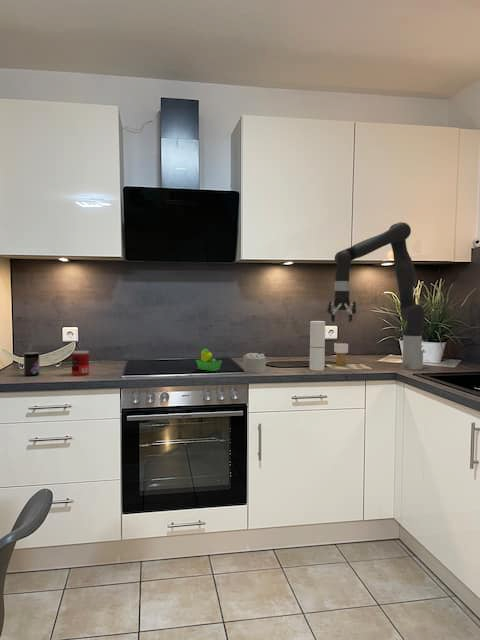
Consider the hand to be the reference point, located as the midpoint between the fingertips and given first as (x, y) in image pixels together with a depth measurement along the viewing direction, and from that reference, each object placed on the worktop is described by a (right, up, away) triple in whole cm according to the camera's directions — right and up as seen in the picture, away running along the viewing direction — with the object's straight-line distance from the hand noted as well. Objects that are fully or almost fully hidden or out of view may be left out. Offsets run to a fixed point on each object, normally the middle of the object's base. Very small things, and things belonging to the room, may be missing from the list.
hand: (341, 321), depth 248 cm
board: (+3, -24, -1) cm, 24 cm away
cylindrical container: (-14, -25, -10) cm, 30 cm away
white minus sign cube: (0, -16, +1) cm, 16 cm away
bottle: (0, -23, +1) cm, 23 cm away
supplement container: (-148, -25, -23) cm, 152 cm away
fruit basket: (-68, -25, -7) cm, 72 cm away
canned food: (-127, -25, -21) cm, 131 cm away
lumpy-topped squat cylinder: (-45, -25, -7) cm, 51 cm away
